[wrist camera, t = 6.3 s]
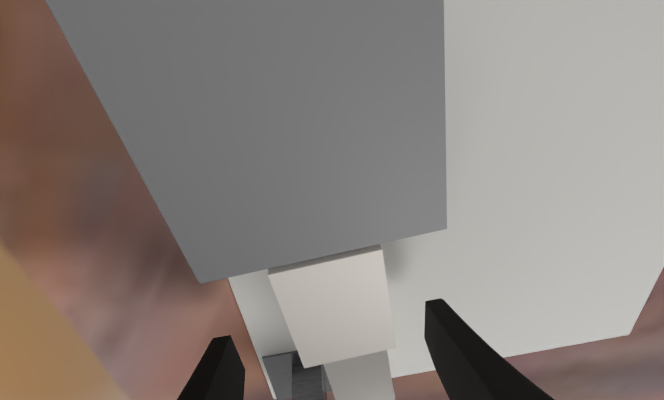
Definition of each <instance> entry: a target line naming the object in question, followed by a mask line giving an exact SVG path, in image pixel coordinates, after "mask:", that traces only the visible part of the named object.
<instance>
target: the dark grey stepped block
mask: <svg viewBox="0 0 664 400" xmlns="http://www.w3.org/2000/svg"><path fill="white" fill-rule="evenodd" d="M262 360H263V363H264V365H265V368H266V371H267V374H268V376H269V379H270V382H271V384H272V387H273V390H274V392H275V395H276V398H277V400H284V399H290V398H292V400H327V394H326V392H328V391H332V388H331V385H330V383H329V380H328V377H327V374H326V371H325V368H324V365H323V364H322V365H318V366H313V367H309V368H304V367H303V364H302V362H301V359H300V356H299V354H298V351H292V352H286V353H280V354H275V355H269V356H263V357H262Z"/></svg>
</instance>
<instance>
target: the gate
mask: <svg viewBox="0 0 664 400" xmlns="http://www.w3.org/2000/svg"><path fill="white" fill-rule="evenodd" d="M45 1H46V3H47V4H48V6H49V8H50V10H51V12H52V14H53V15H54V17H55V19H56V21H57V23H58V25H59V26H60V28H61V30H62V32H63V34H64V36H65V38H66V39H67V41H68V43H69V45H70V47H71V49H72V50H73V52H74V54H75V56H76V58H77V60H78V61H79V63H80V65H81V67H82V69H83V71H84V72H85V74H86V76H87V78H88V80H89V82H90V83H91V85H92V87H93V89H94V91H95V93H96V95H97V96H98V98H99V100H100V102H101V104H102V106H103V107H104V109H105V111H106V113H107V115H108V117H109V118H110V120H111V122H112V124H113V126H114V128H115V129H116V131H117V133H118V135H119V137H120V139H121V140H122V142H123V144H124V146H125V148H126V150H127V152H128V153H129V155H130V157H131V159H132V161H133V163H134V164H135V166H136V168H137V170H138V172H139V174H140V175H141V177H142V179H143V181H144V183H145V185H146V186H147V188H148V190H149V192H150V194H151V196H152V197H153V199H154V201H155V203H156V205H157V207H158V209H159V210H160V212H161V214H162V216H163V218H164V220H165V221H166V223H167V225H168V227H169V229H170V231H171V232H172V234H173V236H174V238H175V240H176V242H177V243H178V245H179V247H180V249H181V251H182V253H183V254H184V256H185V258H186V260H187V262H188V264H189V265H190V267H191V269H192V271H193V273H194V275H195V277H196V278H197V280H198V282H199V284H202V283H207V282H211V281H216V280H220V279H225V278H229V277H234V276H238V275H243V274H247V273H252V272H256V271H261V270H265V269H268V277H269V280H270V282H271V285H272V287H273V290H274V293H275V295H276V298H277V300H278V303H279V305H280V308H281V310H282V313H283V316H284V318H285V321H286V323H287V326H288V328H289V331H290V333H291V336H292V339H293V341H294V344H295V346H296V349H297V351H298V354H299V356H300V359H301V362H302V364H303V367H304V368H309V367H313V366H318V365H322V364H323V365H324V368H325V371H326V374H327V377H328V380H329V383H330V385H331V388H332V391H333V394H334V397H335V400H395V395H394V389H393V383H392V377H391V371H390V365H389V359H388V354H387V350H389V349H393V348H396V341H395V334H394V327H393V320H392V314H391V307H390V300H389V293H388V286H387V279H386V272H385V265H384V258H383V251H382V248H381V245H380V244H381V243H386V242H390V241H395V240H399V239H404V238H408V237H413V236H417V235H422V234H426V233H431V232H435V231H440V230H444V229H447V188H446V118H445V48H444V0H45Z"/></svg>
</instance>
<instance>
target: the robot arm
mask: <svg viewBox="0 0 664 400" xmlns="http://www.w3.org/2000/svg"><path fill="white" fill-rule="evenodd" d="M424 338H425V341H426V344H427V347H428V350H429V353H430V356H431V359H432V361H433V364H434V367H435V369H436V371H437V373H438V375H439V378H440V380H441V382H442V384H443V386H444V388H445V390H446V393H447V395H448V397H449V399H450V400H554V399H553V398H552V397H550V396H549V395H548V394H546V393H545V392H544V391H543V390H541V389H540V388H539V387H537V386H536V385H535V384H534V383H532V382H531V381H530V380H529V379H527V378H526V377H525V376H524V375H522V374H521V373H520V372H519V371H518V370H517V369H515V368H514V367H513V366H512V365H511V364H510V363H508V362H507V361H506V360H505V359H504V358H503V357H501V356H500V355H499V354H498V353H497V352H496V351H495V350H494V349H493V348H492V347H491V346H489V345H488V344H487V343H486V342H485V341H484V340H483V339H482V338H481V337H480V336H479V335H478V334H477V333H476V332H475V331H474V330H473V329H472V328H471V327H470V326H469V325H468V324H467V323H466V322H465V321H464V320H463V319H462V318H461V317H460V316H459V315H458V314H457V313H456V312H455V311H454V310H453V309H452V308H451V307H450V306H449V305H448V304H447V303H446V302H445V300H443V299H442V298H440V299H434V300H429V301H425V330H424ZM244 381H245V368H244V366H243V364H242V361H241V359H240V357H239V354H238V352H237V350H236V347H235V345H234V343H233V340H232V338H231V335H229V336H223V337H217V338H213V339H212V341H211V342H210V344H209V346H208V348H207V350H206V351H205V353H204V355H203V357H202V358H201V360H200V362H199V364H198V365H197V367H196V369H195V371H194V372H193V374H192V376H191V377H190V379H189V381H188V382H187V384H186V386H185V387H184V389H183V391H182V392H181V394H180V395H179V397H178V399H177V400H243V396H244Z"/></svg>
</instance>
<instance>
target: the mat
mask: <svg viewBox="0 0 664 400" xmlns="http://www.w3.org/2000/svg"><path fill="white" fill-rule="evenodd" d="M444 48H445V118H446V188H447V229H444V230H440V231H435V232H431V233H426V234H422V235H417V236H413V237H408V238H404V239H399V240H395V241H390V242H386V243H381V244H380V245H381V248H382V251H383V258H384V265H385V272H386V279H387V286H388V293H389V300H390V307H391V314H392V320H393V327H394V334H395V341H396V348H393V349H389V350H387V354H388V359H389V365H390V371H391V377H392V378H394V377H400V376H405V375H411V374H416V373H421V372H427V371H432V370H436V369H435V367H434V364H433V361H432V359H431V356H430V353H429V350H428V347H427V344H426V341H425V338H424V330H425V301H429V300H434V299H440V298H442V299H443V300H445V302H446V303H447V304H448V305H449V306H450V307H451V308H452V309H453V310H454V311H455V312H456V313H457V314H458V315H459V316H460V317H461V318H462V319H463V320H464V321H465V322H466V323H467V324H468V325H469V326H470V327H471V328H472V329H473V330H474V331H475V332H476V333H477V334H478V335H479V336H480V337H481V338H482V339H483V340H484V341H485V342H486V343H487V344H488V345H489V346H491V347H492V348H493V349H494V350H495V351H496V352H497V353H498V354H499V355H500V356H501V357H509V356H514V355H520V354H525V353H531V352H536V351H542V350H547V349H553V348H558V347H564V346H569V345H575V344H580V343H586V342H591V341H596V340H602V339H607V338H613V337H618V336H624V335H629V334H630V332H631V330H632V328H633V326H634V324H635V322H636V320H637V318H638V316H639V314H640V312H641V310H642V308H643V306H644V304H645V302H646V300H647V298H648V296H649V294H650V292H651V291H652V289H653V287H654V285H655V283H656V281H657V279H658V277H659V275H660V273H661V271H662V269H663V267H664V0H444ZM228 280H229V282H230V285H231V288H232V290H233V293H234V295H235V298H236V301H237V303H238V306H239V309H240V311H241V314H242V317H243V319H244V322H245V324H246V327H247V330H248V332H249V335H250V338H251V340H252V343H253V346H254V348H255V351H256V353H257V356H258V359H259V361H260V364H261V367H262V369H263V372H264V375H265V377H266V380H267V382H268V385H269V388H270V390H271V393H272V396H273V398H274V399H277V398H276V395H275V392H274V390H273V387H272V384H271V382H270V379H269V376H268V374H267V371H266V368H265V365H264V363H263V360H262V357H263V356H269V355H275V354H280V353H286V352H292V351H297V349H296V346H295V344H294V341H293V339H292V336H291V333H290V331H289V328H288V326H287V323H286V321H285V318H284V316H283V313H282V310H281V308H280V305H279V303H278V300H277V298H276V295H275V293H274V290H273V287H272V285H271V282H270V280H269V277H268V269H265V270H261V271H256V272H252V273H247V274H243V275H238V276H234V277H229V278H228Z"/></svg>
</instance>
